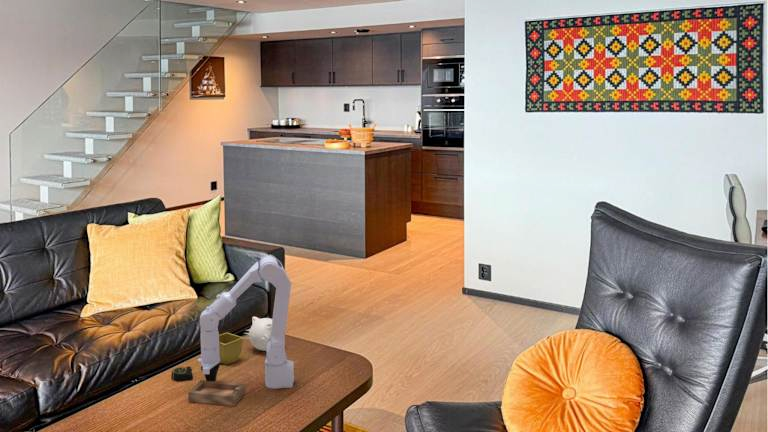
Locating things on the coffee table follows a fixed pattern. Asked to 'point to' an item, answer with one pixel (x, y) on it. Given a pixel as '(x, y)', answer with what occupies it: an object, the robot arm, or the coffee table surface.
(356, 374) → the coffee table surface
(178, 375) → the tape measure
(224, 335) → the flower pot
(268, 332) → the cat head
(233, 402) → the wooden tray
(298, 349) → the coffee table surface
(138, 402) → the coffee table surface
